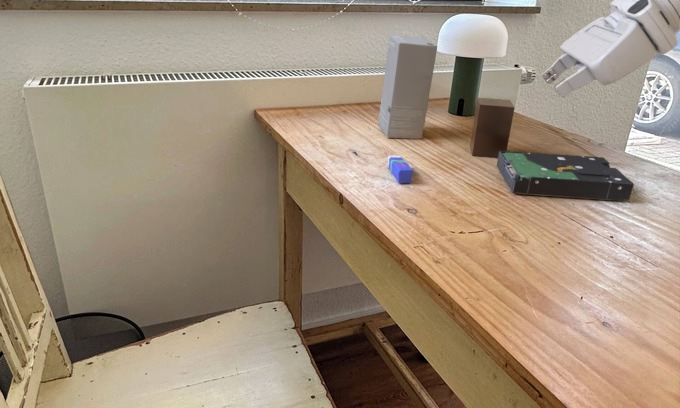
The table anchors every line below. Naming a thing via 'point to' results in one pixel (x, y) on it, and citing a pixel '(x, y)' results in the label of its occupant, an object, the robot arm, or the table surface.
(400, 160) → the eraser
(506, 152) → the disk drive
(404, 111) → the cosmetic box
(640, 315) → the table surface
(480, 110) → the walnut block
